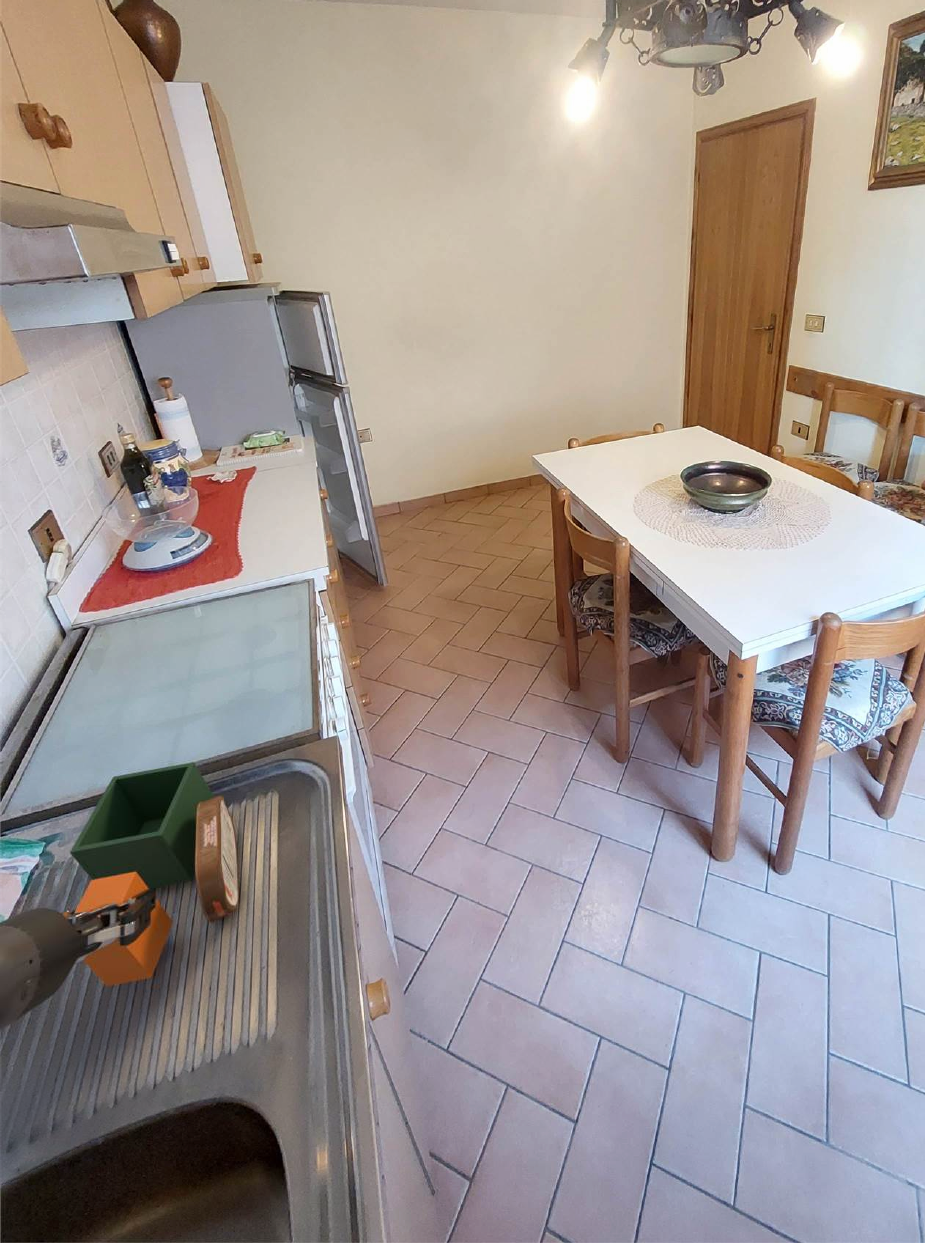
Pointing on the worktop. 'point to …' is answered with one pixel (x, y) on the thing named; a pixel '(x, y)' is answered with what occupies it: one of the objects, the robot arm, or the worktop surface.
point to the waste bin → (145, 826)
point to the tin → (216, 859)
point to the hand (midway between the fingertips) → (125, 904)
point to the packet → (114, 959)
